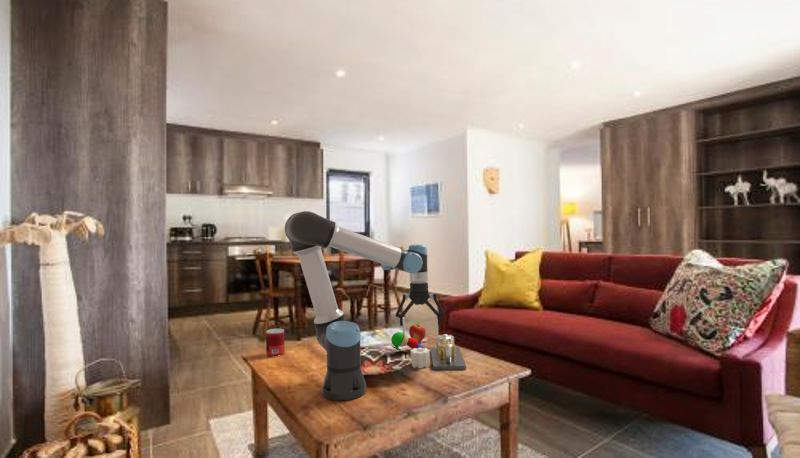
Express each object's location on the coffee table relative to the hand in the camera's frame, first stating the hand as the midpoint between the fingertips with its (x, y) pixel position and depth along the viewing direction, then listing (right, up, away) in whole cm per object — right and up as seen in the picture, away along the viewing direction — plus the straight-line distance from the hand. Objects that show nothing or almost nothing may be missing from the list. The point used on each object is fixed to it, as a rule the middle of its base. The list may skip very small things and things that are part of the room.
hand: (420, 333), depth 167 cm
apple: (0, -13, +35) cm, 37 cm away
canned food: (-66, -15, +18) cm, 69 cm away
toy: (-5, -13, +18) cm, 23 cm away
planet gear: (0, -13, 0) cm, 13 cm away
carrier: (+12, -13, +6) cm, 18 cm away
